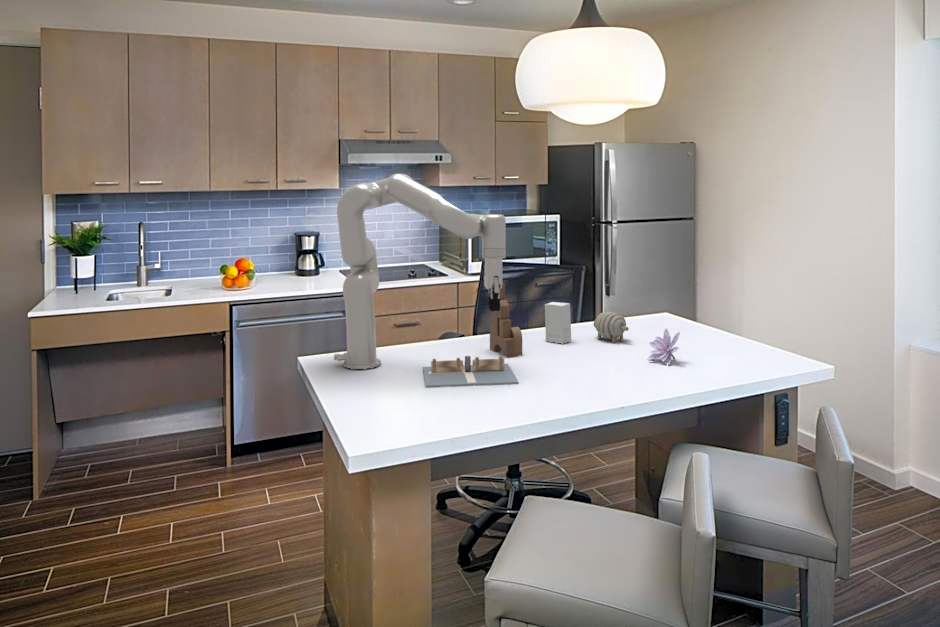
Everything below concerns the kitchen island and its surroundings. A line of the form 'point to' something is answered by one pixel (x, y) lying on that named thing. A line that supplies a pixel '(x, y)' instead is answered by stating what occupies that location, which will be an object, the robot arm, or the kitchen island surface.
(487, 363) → the tan wooden bar
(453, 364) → the fixed fence rail
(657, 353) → the water lily
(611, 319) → the toy sheep
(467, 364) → the fence post
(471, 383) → the board
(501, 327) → the wooden toy
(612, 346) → the kitchen island surface
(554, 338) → the skincare box
